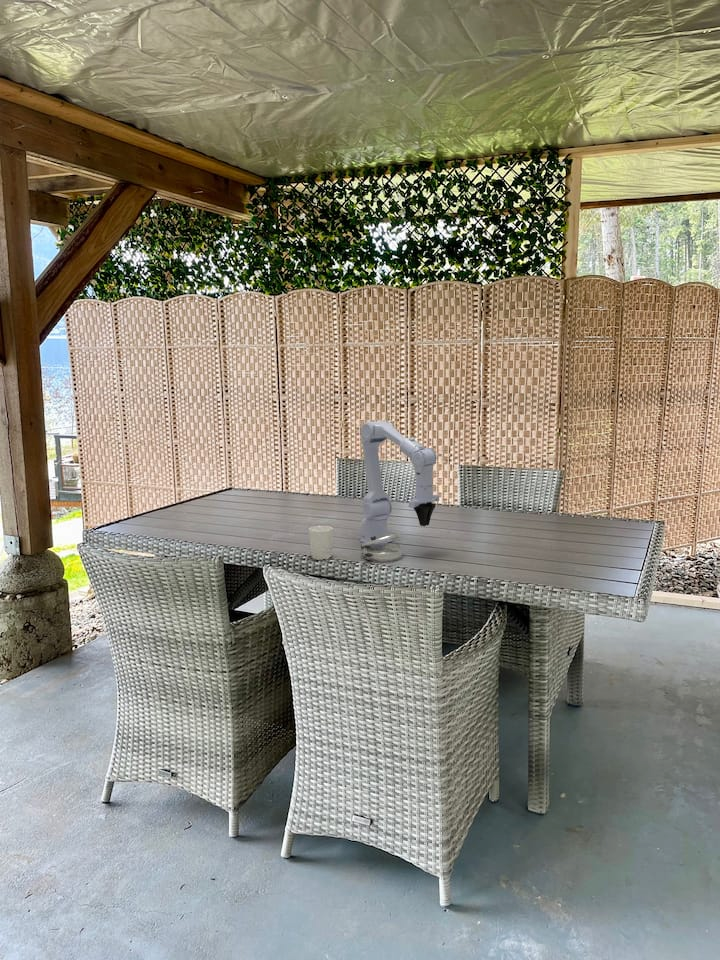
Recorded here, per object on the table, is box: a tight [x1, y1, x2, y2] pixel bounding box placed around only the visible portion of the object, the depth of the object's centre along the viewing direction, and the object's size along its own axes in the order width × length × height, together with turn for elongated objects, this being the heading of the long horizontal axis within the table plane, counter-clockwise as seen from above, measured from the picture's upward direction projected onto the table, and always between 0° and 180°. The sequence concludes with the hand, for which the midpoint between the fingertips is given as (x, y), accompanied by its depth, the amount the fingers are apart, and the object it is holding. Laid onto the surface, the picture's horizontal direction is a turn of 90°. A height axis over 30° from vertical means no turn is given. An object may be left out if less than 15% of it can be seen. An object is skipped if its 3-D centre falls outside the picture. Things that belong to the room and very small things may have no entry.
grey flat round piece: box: [360, 542, 403, 563], centre depth 232 cm, size 15×16×3 cm
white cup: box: [308, 525, 334, 561], centre depth 232 cm, size 8×8×10 cm
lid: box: [361, 532, 402, 547], centre depth 231 cm, size 14×14×2 cm
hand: (424, 525), depth 231 cm, fingers closed
